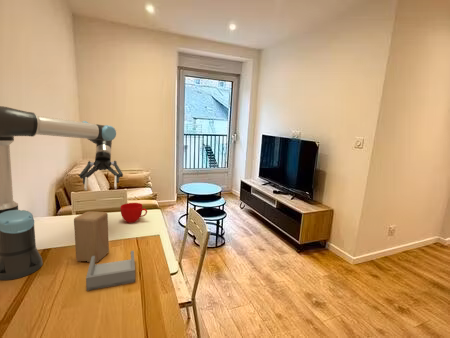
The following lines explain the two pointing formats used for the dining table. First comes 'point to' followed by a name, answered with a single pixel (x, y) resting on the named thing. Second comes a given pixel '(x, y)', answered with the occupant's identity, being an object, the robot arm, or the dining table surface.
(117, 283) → the end cap cradle
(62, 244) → the dining table surface
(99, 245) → the wooden block
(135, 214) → the ceramic cup
